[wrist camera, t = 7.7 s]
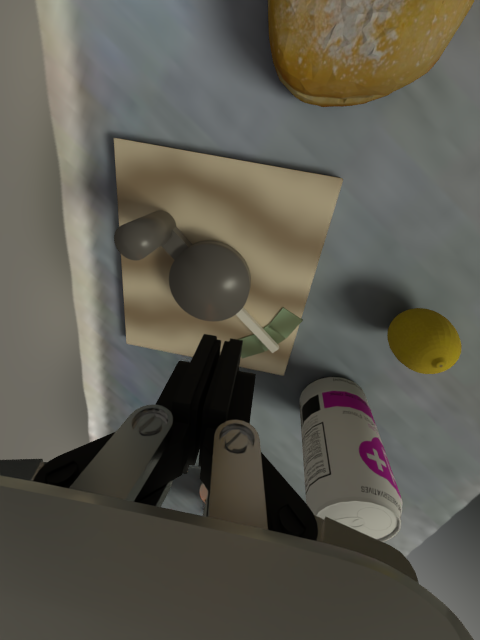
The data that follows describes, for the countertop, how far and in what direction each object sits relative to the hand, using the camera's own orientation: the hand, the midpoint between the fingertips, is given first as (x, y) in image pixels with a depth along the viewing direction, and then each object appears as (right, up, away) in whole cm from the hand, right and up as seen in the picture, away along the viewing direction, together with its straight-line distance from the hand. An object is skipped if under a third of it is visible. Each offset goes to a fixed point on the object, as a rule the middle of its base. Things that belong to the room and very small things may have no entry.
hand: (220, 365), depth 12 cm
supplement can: (+13, -8, +25) cm, 29 cm away
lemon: (+19, +2, +19) cm, 26 cm away
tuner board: (-2, +7, +19) cm, 20 cm away
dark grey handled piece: (-1, +5, +18) cm, 18 cm away
